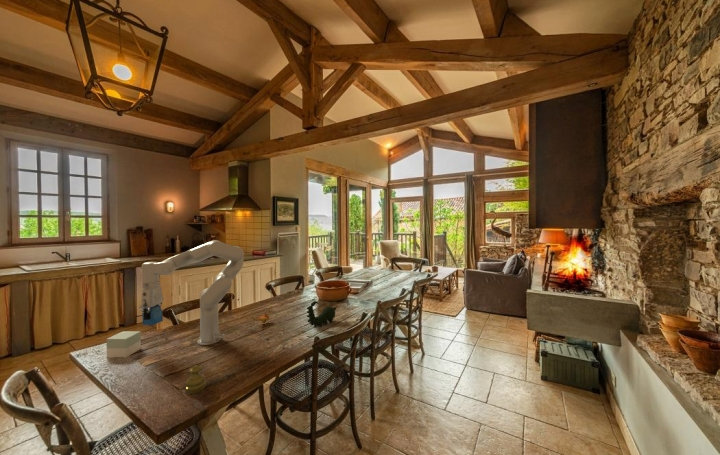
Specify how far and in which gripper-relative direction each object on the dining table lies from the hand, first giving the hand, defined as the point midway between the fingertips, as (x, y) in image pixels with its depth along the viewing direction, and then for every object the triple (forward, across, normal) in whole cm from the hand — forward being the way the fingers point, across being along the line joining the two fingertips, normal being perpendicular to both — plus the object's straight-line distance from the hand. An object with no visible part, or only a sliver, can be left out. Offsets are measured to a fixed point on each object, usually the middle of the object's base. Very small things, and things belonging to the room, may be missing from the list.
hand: (152, 316), depth 152 cm
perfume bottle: (+4, 0, 0) cm, 4 cm away
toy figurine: (+22, +42, -87) cm, 99 cm away
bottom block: (+19, -2, +14) cm, 24 cm away
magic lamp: (+21, +40, -45) cm, 64 cm away
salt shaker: (+20, -34, -43) cm, 58 cm away
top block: (+14, -2, +14) cm, 20 cm away
